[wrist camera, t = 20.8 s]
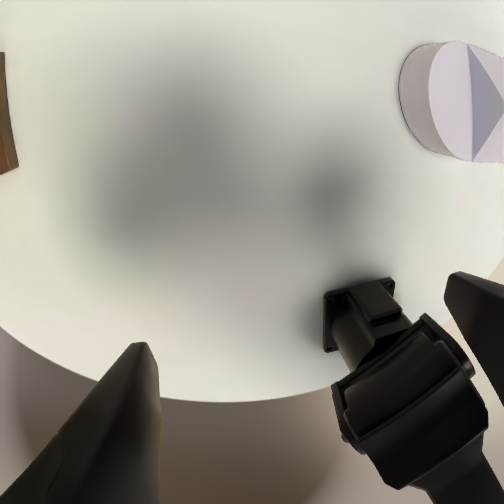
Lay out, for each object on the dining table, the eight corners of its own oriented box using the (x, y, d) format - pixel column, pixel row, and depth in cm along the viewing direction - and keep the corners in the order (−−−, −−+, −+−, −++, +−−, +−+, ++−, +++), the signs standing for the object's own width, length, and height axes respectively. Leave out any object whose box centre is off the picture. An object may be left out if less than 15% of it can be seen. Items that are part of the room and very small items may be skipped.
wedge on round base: (496, 65, 17) (393, 35, 15) (550, 70, 11) (456, 21, 9) (498, 154, 21) (401, 153, 19) (551, 174, 15) (464, 175, 13)
